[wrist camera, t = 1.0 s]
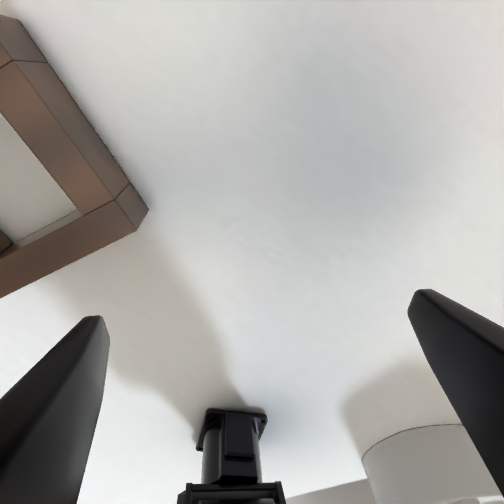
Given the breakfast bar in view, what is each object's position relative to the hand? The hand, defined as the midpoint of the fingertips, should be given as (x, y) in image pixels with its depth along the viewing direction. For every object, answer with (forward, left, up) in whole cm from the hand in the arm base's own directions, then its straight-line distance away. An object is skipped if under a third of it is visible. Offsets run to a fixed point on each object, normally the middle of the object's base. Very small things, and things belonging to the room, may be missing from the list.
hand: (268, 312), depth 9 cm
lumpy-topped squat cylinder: (-28, -29, -15) cm, 43 cm away
